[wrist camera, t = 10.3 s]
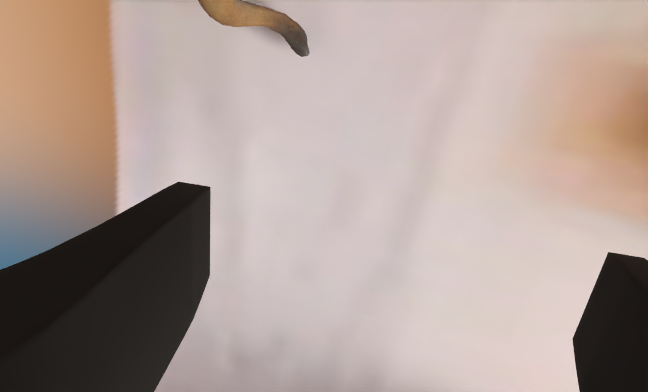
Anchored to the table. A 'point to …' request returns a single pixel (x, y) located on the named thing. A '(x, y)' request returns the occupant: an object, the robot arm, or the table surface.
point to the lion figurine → (257, 20)
